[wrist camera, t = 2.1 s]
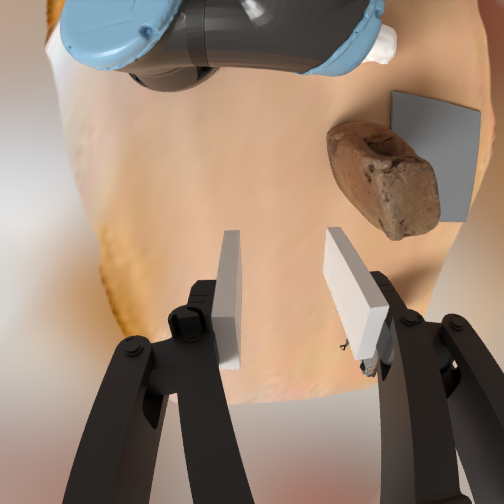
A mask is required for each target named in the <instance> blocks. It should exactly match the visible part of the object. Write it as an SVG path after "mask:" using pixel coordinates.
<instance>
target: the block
mask: <svg viewBox="0 0 504 504" xmlns="http://www.w3.org/2000/svg"><path fill="white" fill-rule="evenodd" d="M326 139H327V150H328V156H329V161H330V165H331V169H332V172H333V175H334V178H335V180H336V182H337V184H338V186H339V188H340V189H341V191H342V192H343V193H344V195H345V196H346V197H347V198H348V200H349V201H350V202H351V203H352V204H353V205H354V206H355V207H356V208H357V209H358V210H359V211H360V212H361V214H362V215H363V216H364V217H365V218H366V219H367V220H368V221H369V222H371V223H372V224H373V225H374V226H375V227H376V228H377V229H380V230H382V231H384V233H385V234H386V236H387V237H388V238H389V239H390V240H392V241H399V240H402V238H404V237H409V236H418V235H422V234H426V233H427V232H429V231H430V230H432V229H434V228H435V227H436V226H437V224H438V222H439V219H440V216H441V209H440V201H439V191H438V185H437V179H436V176H435V172H434V170H433V167H432V166H431V164H430V163H429V162H428V161H426V160H425V159H422V158H421V157H419V156H418V155H417V154H416V152H415V150H414V149H413V148H412V147H410V145H409V144H408V143H407V142H405V140H404V139H402V138H401V137H400V136H399V135H398V134H397V133H395V132H394V131H392V130H390V129H388V128H386V127H384V126H381V125H377V124H373V123H369V122H361V121H353V122H347V123H343V124H341V125H338V126H336V127H334V128H333V129H331V130H330V131H329V132H328V133H327V137H326Z"/></svg>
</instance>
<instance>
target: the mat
mask: <svg viewBox="0 0 504 504" xmlns="http://www.w3.org/2000/svg"><path fill="white" fill-rule="evenodd" d="M480 119H481V112H477V111H474V110H471V109H468V108H465V107H461V106H458V105H454V104H450V103H447V102H443V101H439V100H435V99H431V98H426V97H422V96H417V95H412V94H407V93H402V92H396V91H391V125H390V130H392V131H394V132H395V133H397V134H398V135H399V136H400V137H401V138H402V139H404V140H405V142H407V143H408V144H409V145H410V147H412V148H413V149H414V150H415V152H416V154H417V155H418V156H419V157H421V158H422V159H425V160H426V161H428V162H429V163H430V164H431V166H432V167H433V170H434V172H435V176H436V179H437V185H438V191H439V201H440V209H441V216H440V219H439V222H466V219H467V215H468V210H469V205H470V200H471V195H472V190H473V184H474V177H475V171H476V163H477V155H478V146H479V135H480Z"/></svg>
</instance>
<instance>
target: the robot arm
mask: <svg viewBox="0 0 504 504" xmlns="http://www.w3.org/2000/svg"><path fill="white" fill-rule="evenodd" d="M384 11H385V0H66V2H65V4H64V7H63V10H62V14H61V20H60V34H61V39H62V43H63V45H64V47H65V49H66V50H67V51H68V53H69V54H70V55H71V56H72V57H73V58H74V59H75V60H77V61H78V62H80V63H82V64H85V65H88V66H91V67H92V68H96V69H97V70H105V71H111V70H114V71H120V72H126V73H129V75H130V76H131V77H132V78H133V79H134V80H135V81H136V82H137V83H139V84H140V85H142V86H144V87H146V88H148V89H151V90H155V91H161V92H178V91H183V90H187V89H190V88H193V87H195V86H197V85H199V84H200V83H202V82H204V81H205V80H206V79H208V78H209V77H210V76H211V75H212V74H213V73H214V72H215V71H216V70H217V69H218V67H237V68H255V69H268V70H278V71H287V72H293V73H295V74H298V75H310V74H315V75H323V76H331V77H334V76H341V75H345V74H347V73H349V72H351V71H352V70H354V69H355V68H356V67H357V66H359V65H360V64H361V63H362V62H363V60H364V59H365V58H366V56H367V55H368V54H369V52H370V51H371V49H372V47H373V45H374V44H375V42H376V40H377V37H378V35H379V32H380V29H381V26H382V21H381V20H380V17H381V15H382V14H383V13H384ZM323 274H324V276H325V279H326V282H327V284H328V287H329V289H330V292H331V295H332V297H333V300H334V302H335V305H336V308H337V310H338V313H339V316H340V319H341V321H342V324H343V327H344V330H345V332H346V335H347V338H348V341H349V344H350V347H351V350H352V352H353V355H354V358H355V360H361V359H368V358H373V355H374V352H375V349H377V352H378V354H379V358H378V360H377V363H376V366H375V368H374V371H373V374H372V377H375V375H376V372H377V374H378V386H379V399H380V418H381V448H382V449H381V464H382V465H381V495H380V504H472V502H471V500H470V499H469V497H467V496H465V495H463V494H462V493H461V491H460V487H459V475H458V465H457V456H456V450H457V452H458V455H459V458H460V460H461V463H462V466H463V469H464V471H465V474H466V477H467V480H468V483H469V486H470V489H471V492H472V495H473V499H474V502H475V504H504V373H503V372H502V370H501V369H500V367H499V365H498V364H497V362H496V361H495V359H494V358H493V356H492V355H491V353H490V352H489V350H488V349H487V347H486V346H485V344H484V343H483V342H482V340H481V339H480V337H479V336H478V335H477V333H476V332H475V330H474V329H473V328H472V326H471V325H470V324H469V322H468V321H467V320H466V319H465V318H463V317H462V316H460V315H457V314H448V315H445V316H444V318H443V319H442V322H441V323H434V322H426V321H425V320H424V318H423V317H422V315H420V314H419V313H418V312H416V311H414V310H411V309H407V307H406V305H405V304H404V302H403V301H402V299H401V298H400V296H399V294H398V293H397V291H395V288H394V287H393V285H392V284H391V282H390V281H389V279H388V278H387V277H386V276H385V275H384V274H382V273H381V272H380V271H373V272H369V271H368V269H367V268H366V266H365V264H364V263H363V261H362V260H361V258H360V256H359V255H358V253H357V252H356V250H355V249H354V247H353V245H352V244H351V242H350V241H349V239H348V238H347V236H346V235H345V233H344V232H343V230H342V229H341V227H327V229H326V242H325V253H324V263H323ZM241 304H242V264H241V248H240V232H239V230H235V231H224V237H223V243H222V249H221V256H220V262H219V268H218V275H217V280H198V281H197V282H196V283H195V284H194V285H193V286H192V287H191V291H190V295H189V298H188V303H187V305H184V306H180V307H178V308H176V309H174V310H173V311H172V312H171V313H170V314H169V317H168V323H169V326H170V330H171V333H172V337H171V338H169V339H167V340H164V341H160V342H155V343H150V341H149V340H148V339H147V338H146V337H143V336H139V335H137V336H130V337H128V338H125V339H124V340H122V341H121V342H120V343H119V344H118V346H117V347H116V349H115V352H114V354H113V356H112V359H111V361H110V364H109V366H108V368H107V371H106V374H105V376H104V378H103V381H102V383H101V386H100V388H99V391H98V394H97V396H96V399H95V401H94V404H93V407H92V409H91V412H90V415H89V418H88V420H87V423H86V426H85V429H84V432H83V435H82V438H81V441H80V444H79V447H78V450H77V453H76V456H75V459H74V463H73V466H72V469H71V473H70V477H69V480H68V483H67V487H66V491H65V494H64V499H63V502H62V504H149V499H150V492H151V487H152V481H153V475H154V469H155V463H156V458H157V452H158V447H159V442H160V437H161V431H162V426H163V421H164V417H165V412H166V407H167V402H168V398H169V394H174V393H177V396H178V406H179V414H180V423H181V431H182V437H183V445H184V452H185V458H186V465H187V471H188V477H189V482H190V488H191V493H192V498H193V503H194V504H255V503H254V500H253V497H252V494H251V490H250V487H249V484H248V480H247V477H246V473H245V470H244V467H243V463H242V460H241V456H240V452H239V448H238V445H237V441H236V438H235V433H234V430H233V426H232V422H231V419H230V414H229V410H228V406H227V402H226V398H225V393H224V389H223V385H222V381H221V376H220V372H219V365H220V370H223V369H240V350H241ZM454 360H455V361H456V363H457V365H458V366H457V368H455V367H454V366H453V364H452V363H453V362H454ZM455 447H456V449H455Z"/></svg>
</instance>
